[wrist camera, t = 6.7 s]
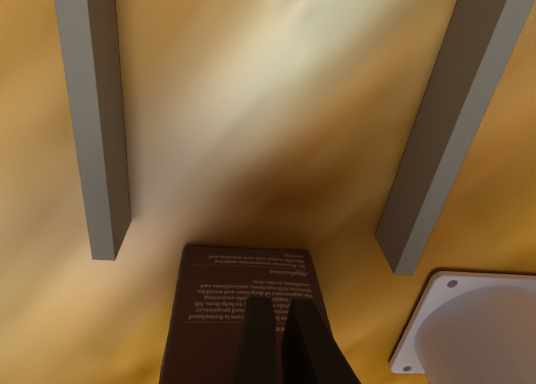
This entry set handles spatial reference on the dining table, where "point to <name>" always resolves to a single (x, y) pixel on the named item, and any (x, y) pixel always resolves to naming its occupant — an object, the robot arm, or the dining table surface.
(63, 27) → the grey arch frame
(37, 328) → the dining table surface
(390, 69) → the dining table surface
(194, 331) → the box
